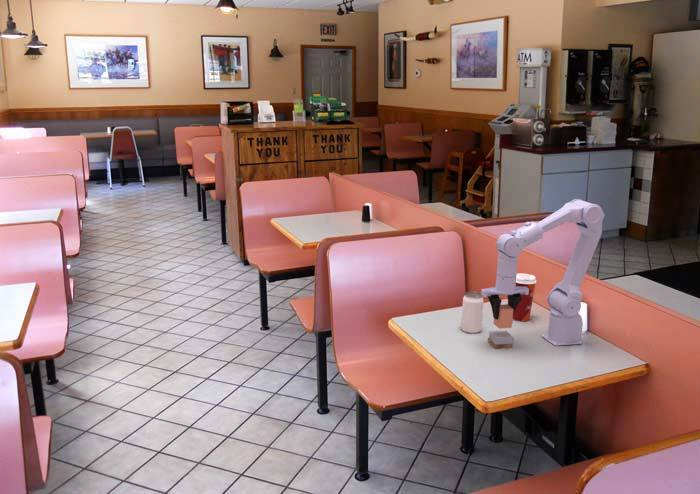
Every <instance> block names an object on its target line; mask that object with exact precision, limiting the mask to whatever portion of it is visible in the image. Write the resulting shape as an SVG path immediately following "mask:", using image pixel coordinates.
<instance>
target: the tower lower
mask: <svg viewBox="0 0 700 494" xmlns="http://www.w3.org/2000/svg"><path fill="white" fill-rule="evenodd" d="M487 343H488V344H489V345H490V346H491V347H492V346H493V347H494V348H493V347H492V348H493V349H495V350H502V349H501V348H506V349H513V344H514V343H513V344H495V343H494V342H493V341H492V340H491V339H490V338H489V337H487Z"/></svg>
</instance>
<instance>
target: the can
mask: <svg viewBox="0 0 700 494" xmlns="http://www.w3.org/2000/svg"><path fill="white" fill-rule="evenodd" d="M461 309H462V310H461V319H460V320H461V323H460V329H461V330H462V331H463V332H464V333H467V334H478V333H480V332H482V326H483V324H482V323H483V315H484V313H483V312H484V297H483V296H482V295H481V292H477V291H468V292H465V293H464V296H463V298H462V307H461Z"/></svg>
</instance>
